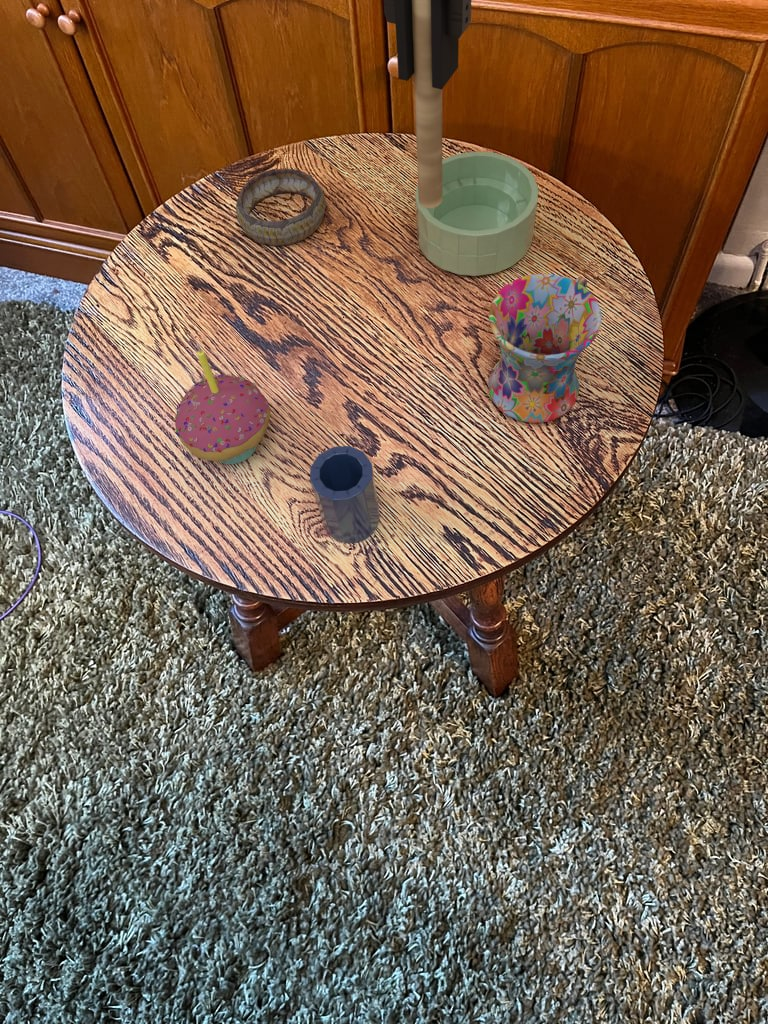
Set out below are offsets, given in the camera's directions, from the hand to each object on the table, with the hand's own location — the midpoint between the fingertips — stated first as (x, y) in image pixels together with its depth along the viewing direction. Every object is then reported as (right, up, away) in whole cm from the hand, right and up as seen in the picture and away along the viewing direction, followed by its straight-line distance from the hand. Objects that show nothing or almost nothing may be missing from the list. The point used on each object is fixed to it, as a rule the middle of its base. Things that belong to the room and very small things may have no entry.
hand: (428, 72), depth 55 cm
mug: (+12, -19, +20) cm, 30 cm away
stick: (+1, -5, +10) cm, 11 cm away
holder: (-6, -32, +14) cm, 35 cm away
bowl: (+7, -1, +29) cm, 30 cm away
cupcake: (-17, -25, +19) cm, 36 cm away
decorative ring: (-14, +2, +33) cm, 36 cm away
